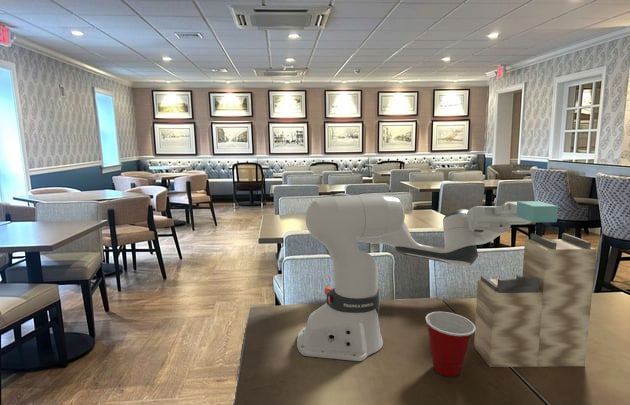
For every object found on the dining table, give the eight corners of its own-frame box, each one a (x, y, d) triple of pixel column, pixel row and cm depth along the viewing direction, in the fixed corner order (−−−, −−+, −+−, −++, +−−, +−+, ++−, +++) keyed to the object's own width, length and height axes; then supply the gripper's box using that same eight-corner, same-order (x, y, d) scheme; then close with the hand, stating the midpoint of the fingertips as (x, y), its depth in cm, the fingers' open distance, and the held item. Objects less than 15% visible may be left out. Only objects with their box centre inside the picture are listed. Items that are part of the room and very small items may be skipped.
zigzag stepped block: (489, 366, 90) (497, 243, 86) (474, 346, 99) (480, 234, 95) (584, 366, 90) (597, 242, 86) (560, 346, 99) (570, 233, 94)
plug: (532, 222, 96) (533, 206, 95) (500, 210, 113) (501, 196, 112) (556, 222, 96) (558, 206, 95) (520, 210, 113) (521, 196, 112)
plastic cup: (474, 388, 82) (477, 335, 81) (422, 378, 86) (423, 327, 84) (472, 361, 92) (474, 313, 91) (425, 353, 96) (426, 308, 94)
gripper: (529, 230, 122) (555, 216, 109) (464, 230, 122) (482, 216, 109) (525, 211, 124) (550, 195, 111) (461, 211, 124) (478, 195, 111)
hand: (515, 205), depth 110 cm, fingers closed on plug, 3 cm apart
